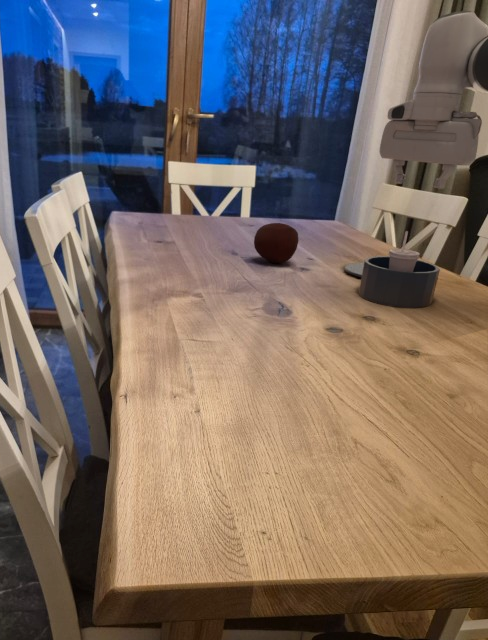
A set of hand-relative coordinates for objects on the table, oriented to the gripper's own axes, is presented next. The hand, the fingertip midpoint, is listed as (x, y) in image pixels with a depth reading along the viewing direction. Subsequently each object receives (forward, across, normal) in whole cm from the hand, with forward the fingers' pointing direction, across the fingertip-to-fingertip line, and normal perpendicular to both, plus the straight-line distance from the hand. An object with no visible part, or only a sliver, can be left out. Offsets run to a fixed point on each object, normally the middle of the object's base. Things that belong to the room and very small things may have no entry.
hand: (418, 186), depth 118 cm
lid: (+23, +16, -14) cm, 31 cm away
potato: (+24, +38, +2) cm, 45 cm away
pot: (+24, 0, 0) cm, 24 cm away
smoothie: (+23, 0, 0) cm, 23 cm away
